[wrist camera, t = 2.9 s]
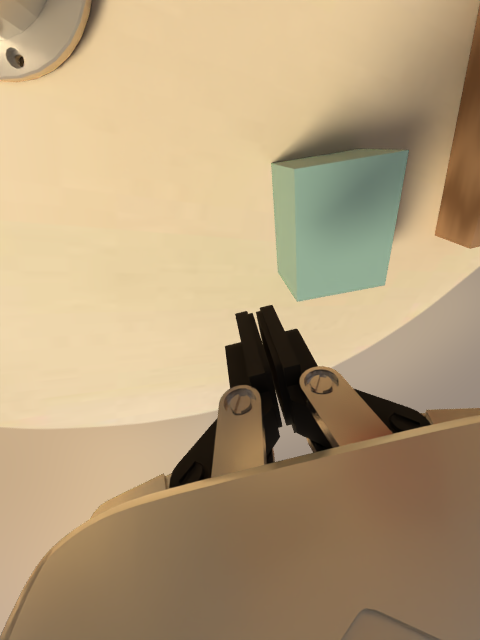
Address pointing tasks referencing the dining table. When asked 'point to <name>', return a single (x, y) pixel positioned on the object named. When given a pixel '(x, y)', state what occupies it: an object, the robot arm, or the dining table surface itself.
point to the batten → (464, 163)
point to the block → (336, 219)
